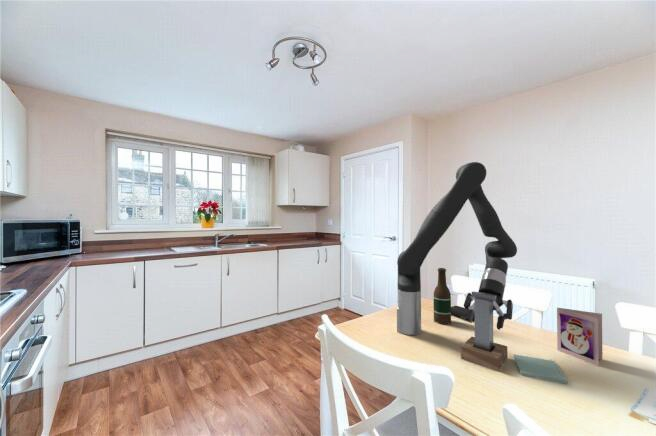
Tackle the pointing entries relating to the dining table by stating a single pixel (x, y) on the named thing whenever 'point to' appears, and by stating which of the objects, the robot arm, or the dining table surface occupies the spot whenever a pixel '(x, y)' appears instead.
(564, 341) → the greeting card
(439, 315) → the beer bottle
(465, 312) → the carrying case or bag
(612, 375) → the dining table surface
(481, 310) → the t key
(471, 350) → the socket block
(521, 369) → the pad
